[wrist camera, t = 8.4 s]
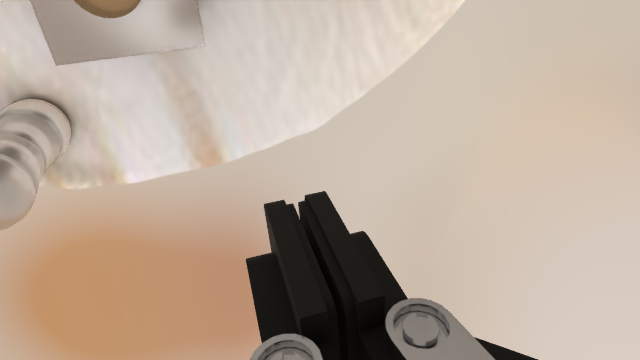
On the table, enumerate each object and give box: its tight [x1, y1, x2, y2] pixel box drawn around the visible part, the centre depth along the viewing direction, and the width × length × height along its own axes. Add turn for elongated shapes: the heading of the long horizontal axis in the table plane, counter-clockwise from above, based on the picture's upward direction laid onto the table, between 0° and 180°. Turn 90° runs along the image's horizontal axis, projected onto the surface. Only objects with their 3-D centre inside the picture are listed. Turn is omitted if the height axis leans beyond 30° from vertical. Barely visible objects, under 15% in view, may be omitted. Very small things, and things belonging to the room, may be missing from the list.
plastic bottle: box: [0, 99, 71, 230], centre depth 36 cm, size 6×7×20 cm
